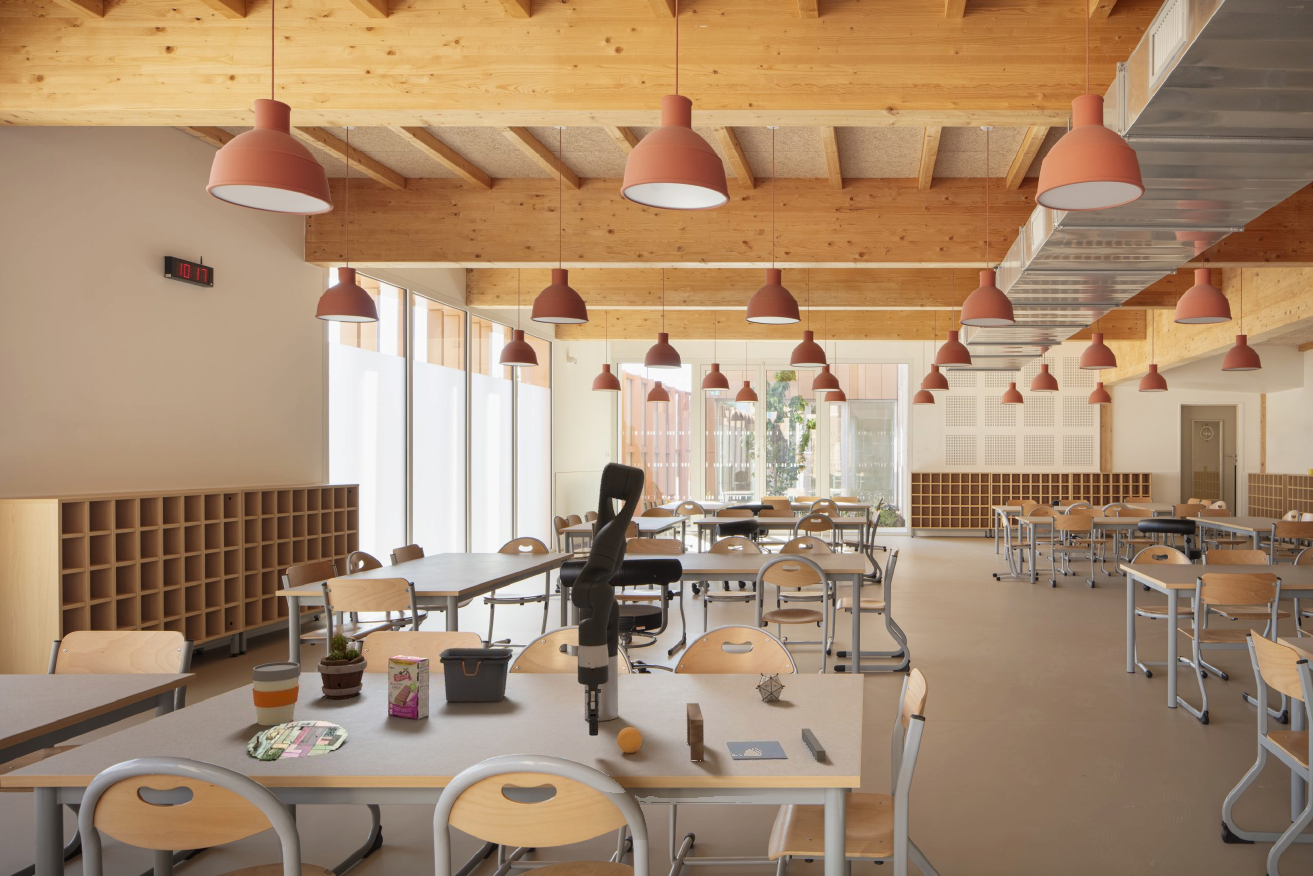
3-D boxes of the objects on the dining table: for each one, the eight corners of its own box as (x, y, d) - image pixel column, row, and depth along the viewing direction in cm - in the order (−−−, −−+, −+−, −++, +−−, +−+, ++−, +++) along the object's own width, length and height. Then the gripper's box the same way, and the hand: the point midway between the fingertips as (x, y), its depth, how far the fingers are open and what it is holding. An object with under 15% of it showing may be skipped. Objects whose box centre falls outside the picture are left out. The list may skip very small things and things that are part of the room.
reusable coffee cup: (240, 724, 236) (241, 669, 236) (275, 713, 247) (275, 660, 248) (276, 729, 231) (277, 672, 232) (309, 717, 243) (310, 663, 244)
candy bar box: (386, 716, 243) (387, 657, 244) (399, 711, 248) (399, 654, 249) (417, 720, 239) (418, 660, 239) (429, 716, 243) (430, 657, 244)
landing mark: (732, 759, 203) (732, 758, 203) (726, 742, 216) (726, 742, 216) (787, 758, 204) (787, 757, 204) (778, 742, 217) (778, 741, 217)
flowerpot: (373, 696, 266) (374, 631, 267) (322, 704, 257) (322, 636, 258) (360, 687, 278) (361, 625, 279) (311, 694, 269) (311, 629, 270)
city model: (238, 777, 200) (239, 752, 200) (242, 738, 222) (243, 715, 221) (351, 764, 210) (352, 740, 210) (345, 728, 232) (346, 706, 231)
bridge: (691, 761, 202) (690, 719, 202) (687, 742, 217) (686, 703, 217) (703, 761, 202) (703, 719, 203) (698, 742, 217) (698, 703, 217)
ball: (617, 756, 206) (617, 731, 206) (617, 748, 212) (617, 724, 212) (642, 756, 206) (641, 731, 206) (641, 748, 212) (641, 723, 212)
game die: (773, 715, 255) (775, 693, 249) (749, 701, 259) (750, 679, 254) (789, 695, 261) (791, 673, 255) (765, 682, 265) (766, 660, 260)
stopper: (816, 761, 201) (816, 750, 201) (801, 738, 219) (801, 728, 219) (825, 761, 201) (825, 750, 201) (809, 738, 219) (809, 728, 219)
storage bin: (514, 693, 269) (514, 647, 269) (507, 706, 253) (507, 657, 254) (446, 694, 268) (446, 647, 269) (434, 707, 253) (434, 658, 253)
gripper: (578, 658, 216) (579, 728, 215) (576, 668, 203) (577, 743, 202) (608, 657, 217) (609, 727, 215) (608, 667, 203) (609, 742, 202)
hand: (593, 734), depth 209 cm, fingers closed
